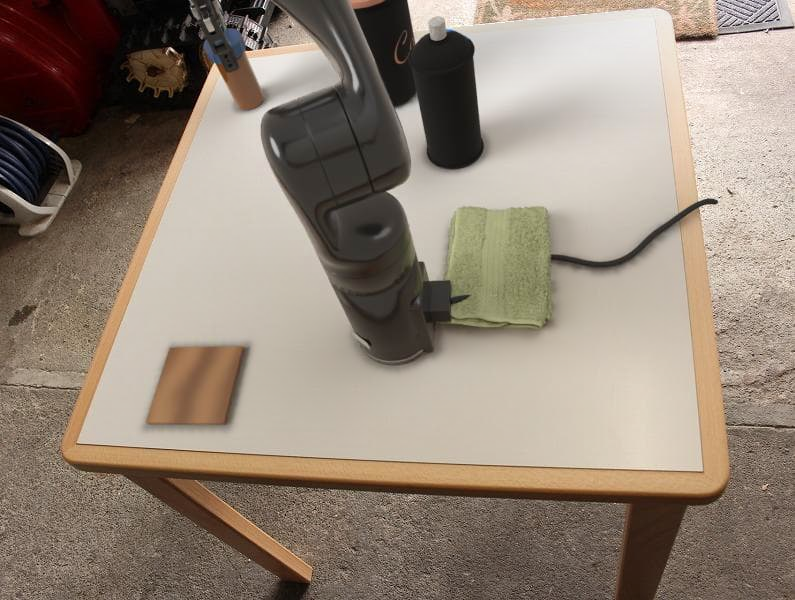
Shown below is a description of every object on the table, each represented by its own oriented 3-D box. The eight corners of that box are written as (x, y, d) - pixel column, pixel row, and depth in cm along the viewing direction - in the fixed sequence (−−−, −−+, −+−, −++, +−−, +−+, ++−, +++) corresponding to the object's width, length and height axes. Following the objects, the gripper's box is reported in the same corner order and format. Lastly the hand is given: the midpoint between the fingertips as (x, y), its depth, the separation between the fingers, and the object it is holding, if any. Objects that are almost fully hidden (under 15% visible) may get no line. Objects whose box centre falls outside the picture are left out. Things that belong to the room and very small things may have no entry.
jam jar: (266, 89, 104) (242, 32, 95) (261, 108, 102) (235, 51, 93) (239, 92, 105) (212, 36, 96) (233, 112, 102) (205, 56, 94)
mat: (245, 348, 75) (243, 345, 75) (226, 424, 70) (223, 422, 69) (171, 349, 77) (169, 347, 77) (147, 424, 72) (145, 422, 72)
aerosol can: (475, 172, 84) (460, 44, 68) (419, 166, 87) (392, 41, 71) (490, 131, 88) (479, 0, 72) (436, 127, 91) (414, 0, 75)
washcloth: (437, 332, 71) (433, 317, 69) (452, 216, 81) (449, 200, 78) (552, 336, 68) (553, 321, 66) (554, 215, 78) (555, 198, 75)
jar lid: (217, 40, 98) (212, 28, 96) (251, 39, 96) (246, 27, 95) (203, 64, 95) (197, 53, 93) (238, 63, 93) (232, 52, 92)
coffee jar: (416, 111, 94) (393, 0, 79) (350, 112, 97) (317, 5, 82) (427, 66, 99) (408, -45, 85) (365, 69, 102) (336, -39, 87)
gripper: (212, -35, 79) (260, 75, 93) (200, -80, 87) (246, 27, 101) (157, -15, 79) (213, 92, 93) (150, -63, 87) (203, 42, 101)
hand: (230, 58), depth 97 cm, fingers closed on jar lid, 6 cm apart
